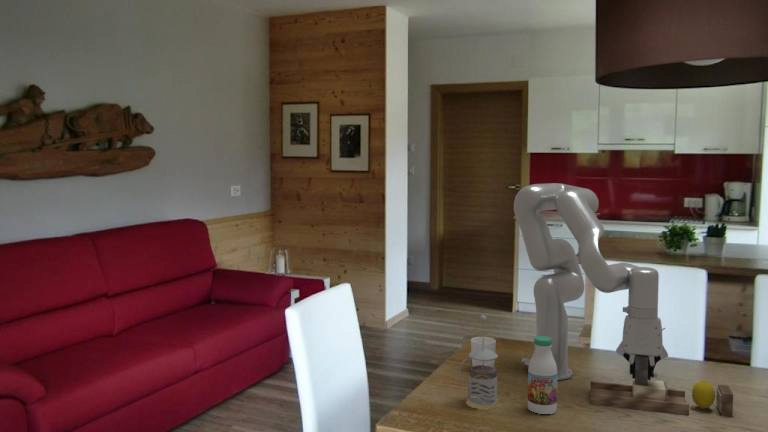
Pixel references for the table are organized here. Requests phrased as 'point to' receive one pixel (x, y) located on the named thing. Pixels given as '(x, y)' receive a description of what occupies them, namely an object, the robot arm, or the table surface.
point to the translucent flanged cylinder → (478, 344)
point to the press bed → (636, 399)
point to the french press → (482, 370)
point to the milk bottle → (542, 378)
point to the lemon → (703, 394)
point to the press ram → (647, 382)
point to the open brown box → (724, 400)
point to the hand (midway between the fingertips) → (641, 377)
